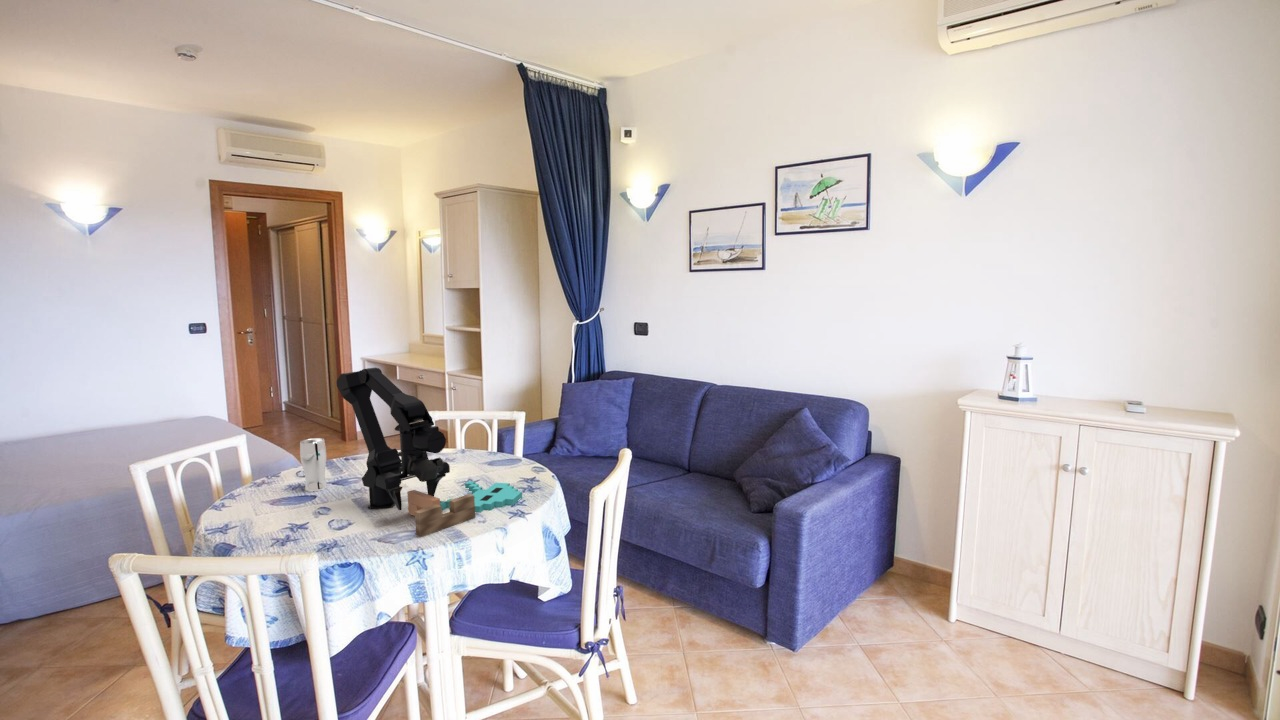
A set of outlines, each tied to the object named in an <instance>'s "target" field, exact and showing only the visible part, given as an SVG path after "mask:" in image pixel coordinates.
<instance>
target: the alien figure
mask: <svg viewBox="0 0 1280 720" xmlns="http://www.w3.org/2000/svg"><path fill="white" fill-rule="evenodd" d="M465 488H469V489H468V492H469V491H472V492H471V495H474V500H475V512H480V513H482V512H483V511H492V510H493V509H495V508H494V507H503V506H504V507H505V506H512V505H513V506H515V504H517V503H518V502H519V501H520V500H521V499H522V498H523V491H521V490H520V491H519V488H515V487H514V485H511V484H510V483H509V482H495V483H493V484H492V485H490V486H489V487H488V488H486V489H484V488H483V486H480V484H478V483H476V481H473V480H469V481H467V482H465V483H464V489H465ZM520 498H521V499H520ZM452 499H453V498H449V499H447V500H446V501H442V500H440V506H442V511H444V510H445V509H446V508H447V509H450V504H449V500H452ZM519 499H520V500H519ZM518 500H519V501H518ZM517 501H518V502H517ZM516 502H517V503H516ZM504 507H503V508H504ZM481 511H482V512H481Z"/></svg>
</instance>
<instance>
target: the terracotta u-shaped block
mask: <svg viewBox="0 0 1280 720" xmlns="http://www.w3.org/2000/svg"><path fill="white" fill-rule="evenodd" d="M406 493H407V505H408V514H409V515H410V516H411V515H412V516H414V517H415V511H418V510H421V509H424V508H427V507H430V506H433V505H440V501H441V499H440V498H439V497H436V496H435V495H434V496H431V495H428V493H425V492H422V491H418V490H416V489H413V490H408V491H407V492H406Z"/></svg>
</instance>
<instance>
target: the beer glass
mask: <svg viewBox="0 0 1280 720" xmlns="http://www.w3.org/2000/svg"><path fill="white" fill-rule="evenodd" d="M325 442H326V441H325V439H324V438H322V437H315V438H307V439H302V440H301V441H299V456H300V461H301V467H302V470H303V475H304V479H305V484H304V491H305V492H307V491H308V493H314V492H313V491H316V492H320V491H323V490H325V489H327V488H328V484H327V481H326V468H327V467H326V466H327V465H326V464H327V448H326V443H325Z"/></svg>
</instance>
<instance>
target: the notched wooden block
mask: <svg viewBox="0 0 1280 720" xmlns="http://www.w3.org/2000/svg"><path fill="white" fill-rule="evenodd" d="M451 499H452V500H449V499H448V500H449V504H450V508H449V512H445V513H443V510H442V506H440V505H433V506H430V507H427V508H424V509H421V510H418V511H415V516H414V520H415V521H414V524H415V535H416V536H417V537H420V538H422V537H424V536H427V535H430V534H433V533H436V532H438V531H441V530H444V529H447V528H450V527H453V526H456V525H459V524H461V523H465V522H467V521H470V520H473V519H475V518H476V513H475V500H474V495H472V493H468V494H466V495H465V494H464V495H461V496H458V497H457V498H456V497H455V498H451Z"/></svg>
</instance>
